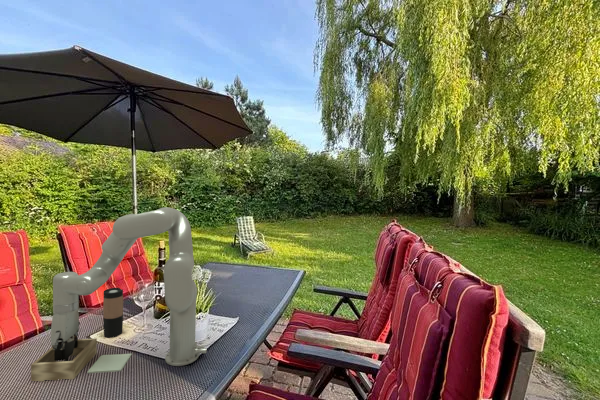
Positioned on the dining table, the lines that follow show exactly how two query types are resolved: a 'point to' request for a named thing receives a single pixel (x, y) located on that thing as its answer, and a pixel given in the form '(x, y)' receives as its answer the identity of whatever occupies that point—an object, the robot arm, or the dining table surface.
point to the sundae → (69, 346)
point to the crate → (64, 362)
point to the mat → (110, 363)
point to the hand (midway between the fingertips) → (66, 353)
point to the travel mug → (113, 312)
